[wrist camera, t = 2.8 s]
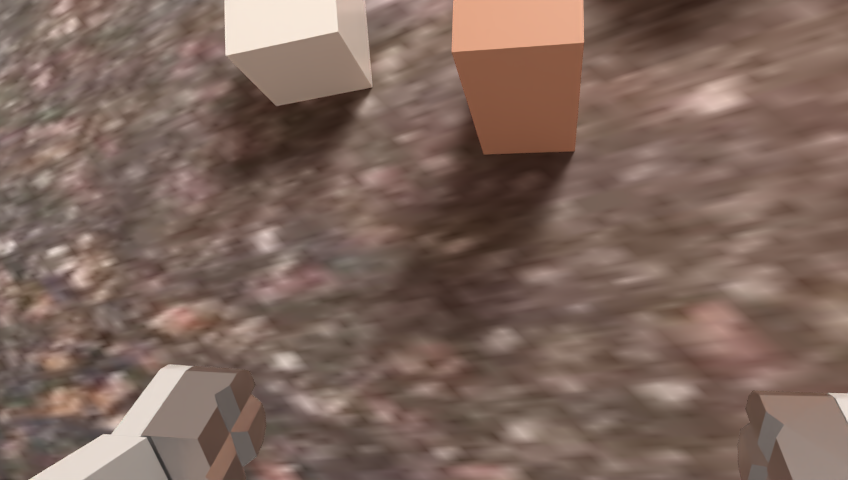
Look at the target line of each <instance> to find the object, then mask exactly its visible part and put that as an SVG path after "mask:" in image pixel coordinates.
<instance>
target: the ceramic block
mask: <svg viewBox="0 0 848 480" xmlns="http://www.w3.org/2000/svg"><path fill="white" fill-rule="evenodd" d="M225 46H226V56H227V57H228V58H229V59H230V60H231V61H232V62H233V63H234V64H235V65H236V66H237V67H238V68H239V69H240V70H241V71H242V72H243V73H244V74H245V75H246V76H247V77H248V78H249V79H250V80H251V81H252V82H253V83H254V84H255V85H256V86H257V87H258V88H259V89H260V90H261V91H262V92H263V93H264V94H265V95H266V96H267V97H268V98H269V99H270V100H271V101H272V102H273V103H274V104H275V105H276V106H280V105H285V104H290V103H295V102H300V101H305V100H311V99H316V98H321V97H326V96H331V95H336V94H341V93H346V92H351V91H356V90H361V89H366V88H372V76H371V65H370V53H369V42H368V30H367V19H366V7H365V0H225Z"/></svg>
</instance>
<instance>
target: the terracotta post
mask: <svg viewBox="0 0 848 480" xmlns="http://www.w3.org/2000/svg"><path fill="white" fill-rule="evenodd" d="M583 48H584V21H583V0H453V29H452V55H453V58H454V61H455V64H456V67H457V71H458V74H459V77H460V80H461V83H462V87H463V90H464V93H465V96H466V99H467V103H468V106H469V109H470V112H471V115H472V119H473V122H474V125H475V128H476V131H477V135H478V138H479V141H480V144H481V147H482V151H483V154H511V153H539V152H566V151H575V141H576V129H577V118H578V106H579V94H580V83H581V71H582V59H583Z"/></svg>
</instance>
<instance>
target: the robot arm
mask: <svg viewBox="0 0 848 480" xmlns="http://www.w3.org/2000/svg"><path fill="white" fill-rule="evenodd" d="M255 385H256V384H255V382H254V379H253V377H252V374H251V372H250V371H248V370H245V369H235V368H220V367H206V366H184V365H170V364H169V365H167V366H165V367H163V368H162V369H160V370H159V372H158V373H157V374H156V376H155V377H154V378H153V380H152V381H151V382H150V384H149V385H148V386H147V388H146V389H145V390H144V392H143V393H142V394H141V396H140V397H139V398H138V400H137V401H136V402H135V404H134V405H133V406H132V407H131V409H130V410H129V411H128V413H127V414H126V415H125V417H124V418H123V419H122V421H121V422H120V423H119V425H118V426H117V427H116V429H115V430H114V431H113V433H112V434H111V435H108V434H103V435H101V436H100V437H98V438H96V439H95V440H93V441H91V442H90V443H88V444H87V445H85V446H83V447H82V448H80V449H78V450H77V451H75V452H73V453H72V454H70V455H69V456H67V457H65V458H64V459H62V460H60V461H59V462H57V463H55V464H54V465H52V466H51V467H49V468H47V469H46V470H44V471H42V472H41V473H39V474H37V475H36V476H34V477H33V478H31V479H29V480H246V475H245V471H244V466H245V465H246V464H247V463H249V462H250V461H251V460H253V459H254V458H255V457H257V455H258V453H259V450H260V448H261V446H262V444H263V441H264V435H265V430H266V415H265V411H264V408H263V405H262V403H261V402H260V401H259V400H258V399H257V398H256V397H254V396H253V395H252V394H251V393H252V391H253V389H254V387H255ZM745 409H746V412H747V415H748V418H749V421H750V423H748V424H747V425H746V426H744V427H743V428H742V429H740V435H739V440H738V466H739V472H740V477H741V480H848V394H845V393H827V394H825V393H813V392H784V391H754V390H753V391H752V392H751V394H750V395H749V396H748V400H747V404H746V408H745Z"/></svg>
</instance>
